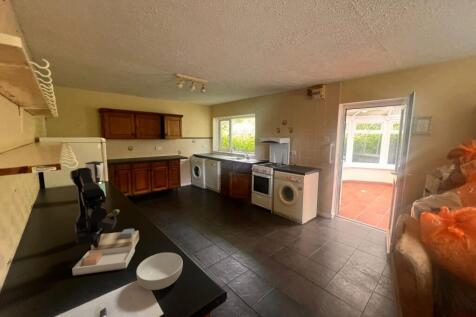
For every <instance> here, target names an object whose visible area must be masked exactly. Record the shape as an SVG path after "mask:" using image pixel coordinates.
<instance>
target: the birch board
mask: <svg viewBox="0 0 476 317" xmlns="http://www.w3.org/2000/svg"><path fill="white" fill-rule="evenodd" d="M121 233H122V231H118V232H112V233H111V232H110V233H102V234H101V238H100V242H99V246H98V247H97V248H95V247H94V246H93V245H92V244H91V245H90V250H99V249H108V248H117V247H126V246H135V247H136V245H137V243H138V242H139V240H140V233H139V230H134V234H133V236H132V238H122V239H121Z"/></svg>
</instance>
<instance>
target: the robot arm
mask: <svg viewBox="0 0 476 317" xmlns="http://www.w3.org/2000/svg"><path fill="white" fill-rule="evenodd" d="M69 176H70V180H72V183H73V184H74V185H75V187H76V192H77V199H78V200H77V202H78V211H79V212H78V214H77V216H76V219H75V223H74V231H75V233H76V234H77V237H76V245H77V244H87V243H88V244H89V243H91V246H92V245H93V246H94V247H95V248H97V247H98V246H99V242H100V238H101V235H102V234H104V232H106V230H107V231H113V230H114V228H115V227H116V225H117V223H118V219H117V217H116V216H117V215H116V216H113V215H112V216H111V217H110V218H105V217H106V216H107V215H108V212H107V210H106V209H105V207H103V204H105V203H106V199H107V198H106V197H107V196H106V197H105V194H104V191H103V189H101V188H100V186H99V185H98V184H95V183H94V181H93V179H92V171H91V169H90V168H88V167H86V166H85V167H78V168H76V169H74V170H73V169H72V170H71V171H70V173H69ZM101 198H102V199H101ZM98 199H100V200H98Z"/></svg>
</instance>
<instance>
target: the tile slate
mask: <svg viewBox="0 0 476 317" xmlns="http://www.w3.org/2000/svg"><path fill="white" fill-rule="evenodd" d="M134 231H135V228H127V229H126V228H125V229H123V230H122V231H121V232H122V233H121V239H122V238H132V236H133V234H134Z"/></svg>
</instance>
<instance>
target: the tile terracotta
mask: <svg viewBox="0 0 476 317" xmlns="http://www.w3.org/2000/svg"><path fill="white" fill-rule="evenodd" d="M101 258H102V253H94V254H89V255H88V256H87V257H86V258H85V259H84V260H83V263H84V266H88V265H97V263H98V262H99V261H100V260H101Z"/></svg>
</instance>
